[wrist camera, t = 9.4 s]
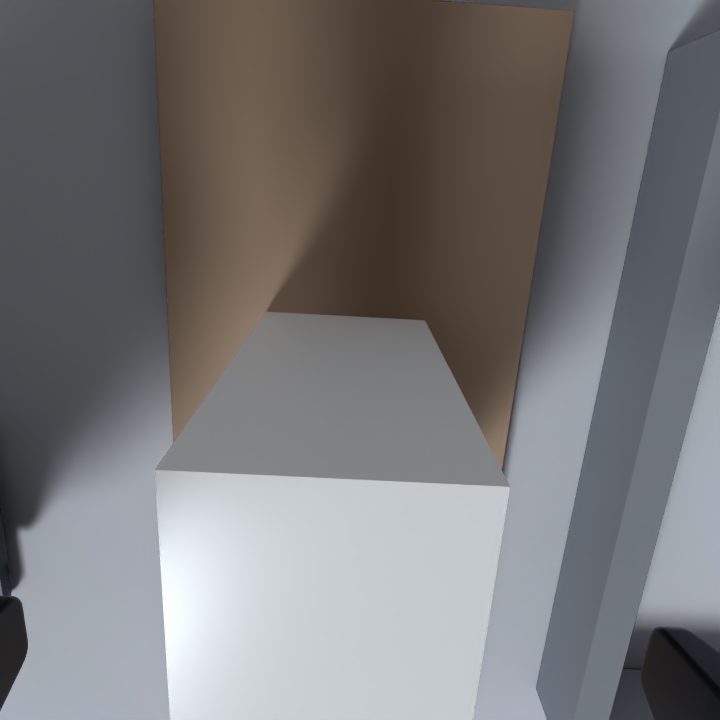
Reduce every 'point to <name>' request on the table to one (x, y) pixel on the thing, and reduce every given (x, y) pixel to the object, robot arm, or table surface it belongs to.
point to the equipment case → (641, 399)
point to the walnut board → (355, 176)
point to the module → (329, 530)
